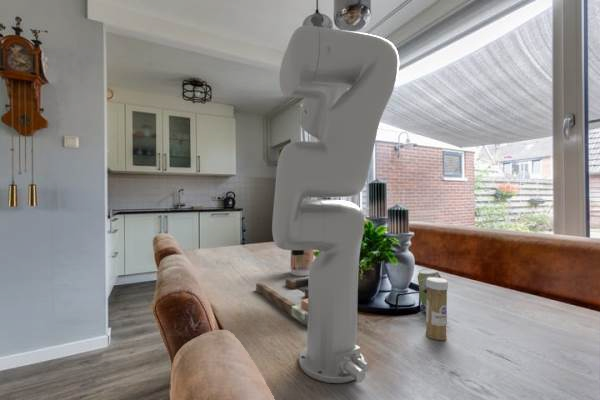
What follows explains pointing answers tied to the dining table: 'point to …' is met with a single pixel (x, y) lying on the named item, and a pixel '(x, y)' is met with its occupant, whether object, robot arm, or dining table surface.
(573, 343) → the dining table surface
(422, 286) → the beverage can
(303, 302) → the block
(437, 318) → the sprinkles bottle
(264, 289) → the trap lane
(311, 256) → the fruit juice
